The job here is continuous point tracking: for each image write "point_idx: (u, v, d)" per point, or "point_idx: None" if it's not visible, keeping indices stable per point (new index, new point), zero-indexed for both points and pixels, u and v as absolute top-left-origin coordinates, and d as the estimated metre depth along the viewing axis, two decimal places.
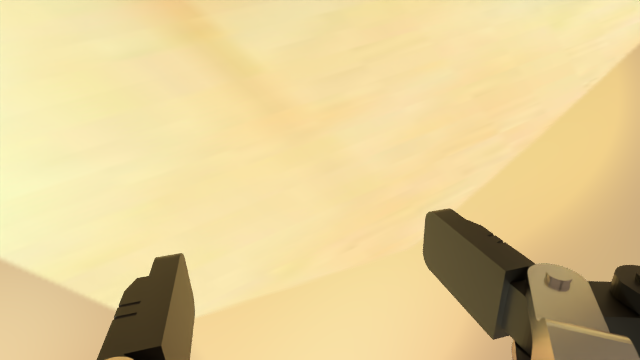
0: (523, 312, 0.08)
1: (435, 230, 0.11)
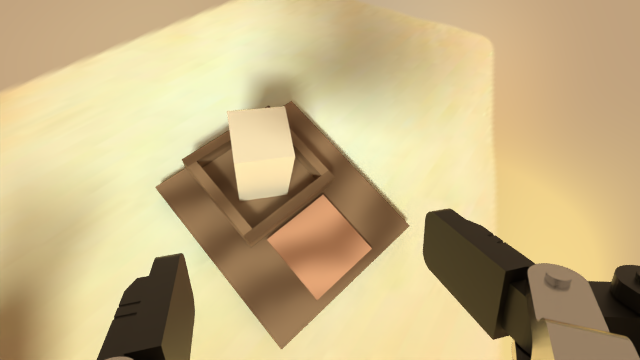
0: (523, 312, 0.08)
1: (435, 230, 0.11)
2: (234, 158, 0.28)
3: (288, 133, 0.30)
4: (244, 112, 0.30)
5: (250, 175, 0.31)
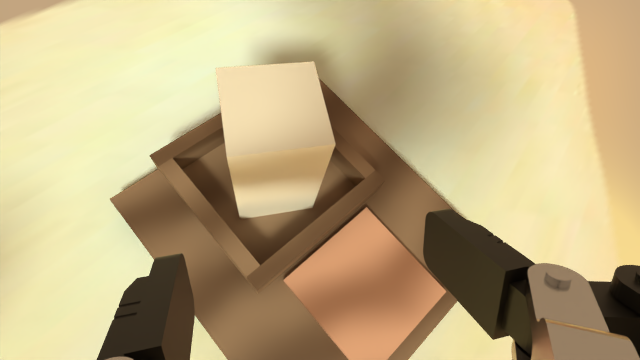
0: (523, 312, 0.08)
1: (435, 230, 0.11)
2: (227, 147, 0.16)
3: (322, 105, 0.17)
4: (245, 71, 0.17)
5: (256, 178, 0.18)
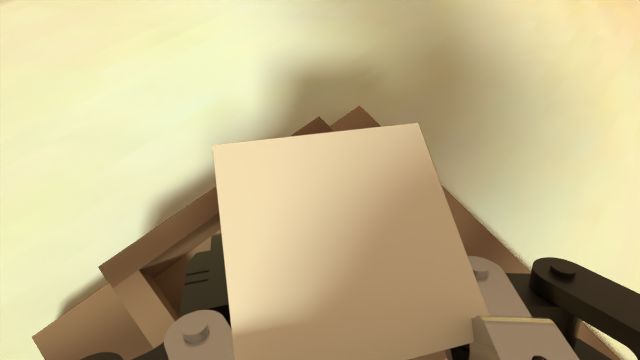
0: None
1: None
2: None
3: (449, 229, 0.08)
4: (278, 150, 0.08)
5: None
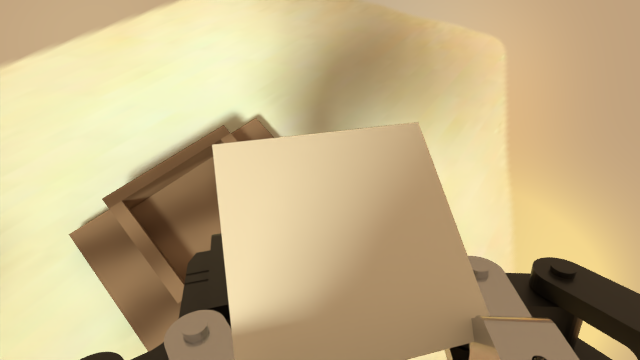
0: None
1: None
2: None
3: (450, 228, 0.08)
4: (278, 149, 0.08)
5: None
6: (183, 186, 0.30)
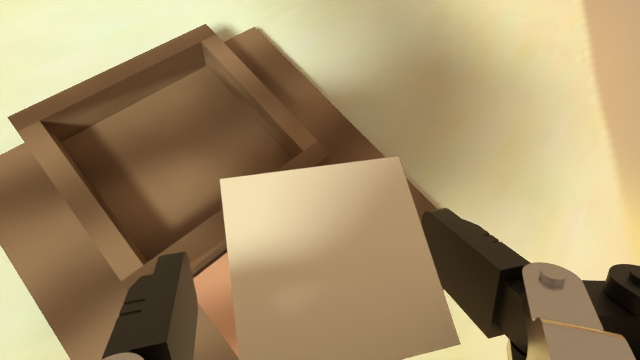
0: (518, 311, 0.08)
1: (431, 229, 0.11)
2: None
3: (423, 251, 0.09)
4: (276, 182, 0.09)
5: None
6: (145, 112, 0.20)
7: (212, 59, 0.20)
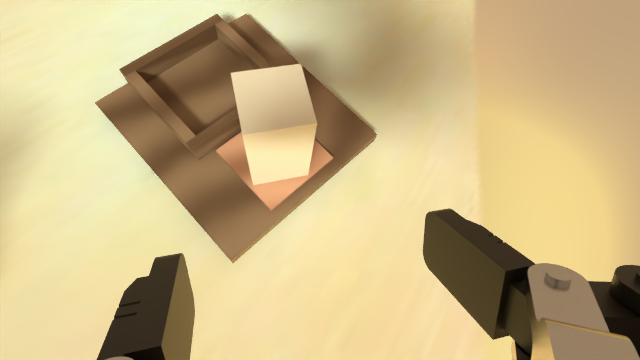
0: (523, 312, 0.08)
1: (435, 230, 0.11)
2: (242, 128, 0.23)
3: (307, 95, 0.24)
4: (251, 73, 0.24)
5: (263, 150, 0.25)
6: (186, 67, 0.35)
7: (222, 34, 0.35)
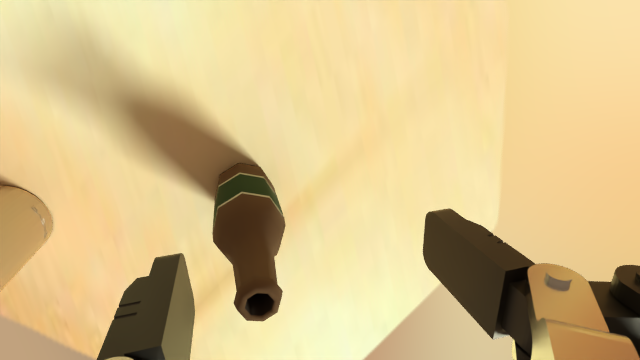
0: (523, 312, 0.08)
1: (435, 230, 0.11)
2: None
3: None
4: None
5: None
6: None
7: None
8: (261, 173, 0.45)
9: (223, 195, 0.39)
